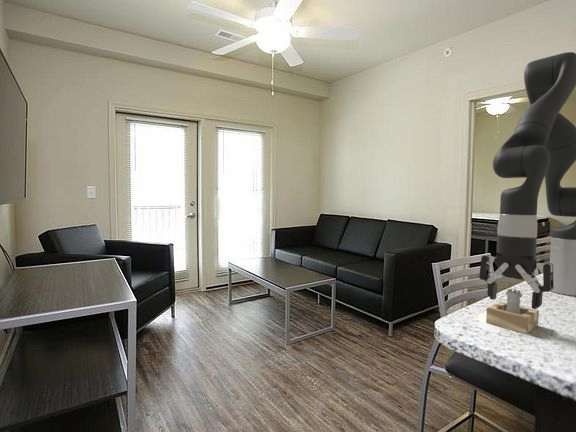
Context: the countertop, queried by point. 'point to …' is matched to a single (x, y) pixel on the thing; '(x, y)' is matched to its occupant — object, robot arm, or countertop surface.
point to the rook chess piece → (513, 301)
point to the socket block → (512, 318)
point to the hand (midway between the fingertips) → (513, 303)
